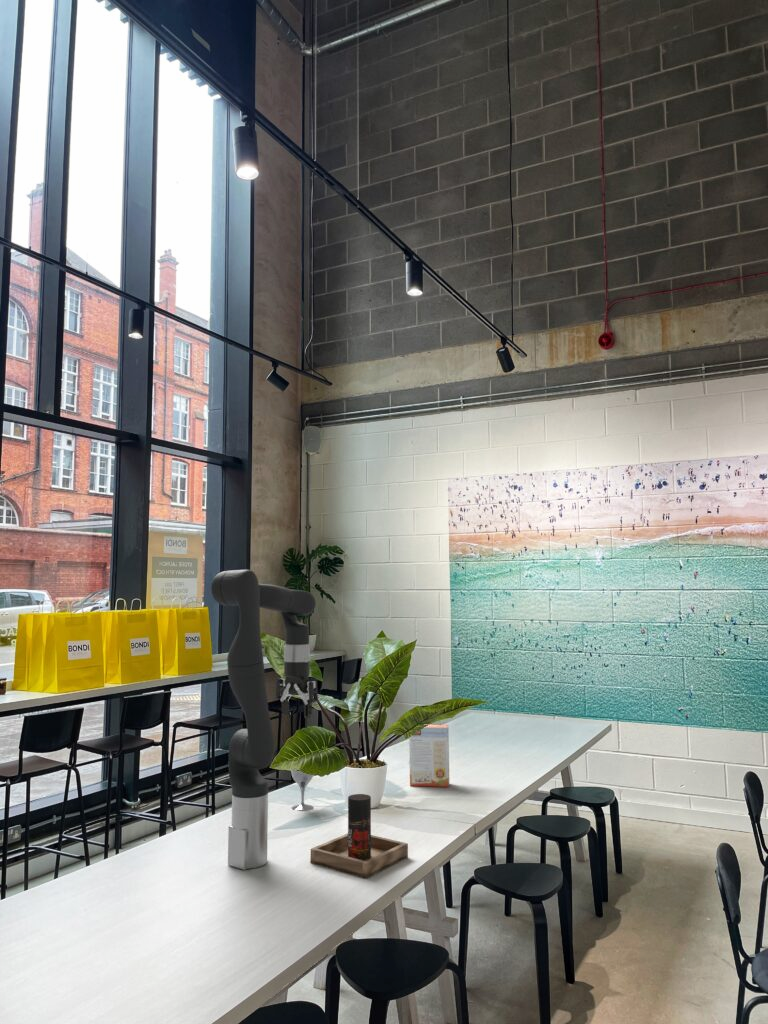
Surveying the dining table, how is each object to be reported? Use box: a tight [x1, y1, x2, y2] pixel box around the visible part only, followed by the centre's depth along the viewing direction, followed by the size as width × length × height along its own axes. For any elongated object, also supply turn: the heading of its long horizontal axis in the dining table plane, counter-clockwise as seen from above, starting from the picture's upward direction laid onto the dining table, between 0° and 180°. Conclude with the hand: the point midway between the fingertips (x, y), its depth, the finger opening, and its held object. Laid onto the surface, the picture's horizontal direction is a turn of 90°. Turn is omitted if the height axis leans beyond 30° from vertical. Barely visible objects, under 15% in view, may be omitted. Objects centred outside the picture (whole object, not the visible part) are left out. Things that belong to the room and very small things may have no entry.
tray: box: [310, 832, 409, 879], centre depth 196 cm, size 18×18×4 cm
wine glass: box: [290, 769, 315, 812], centre depth 244 cm, size 8×8×15 cm
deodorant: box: [347, 793, 372, 861], centre depth 196 cm, size 6×6×15 cm
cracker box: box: [408, 724, 450, 788], centre depth 272 cm, size 14×6×21 cm, turn 82°
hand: (296, 716), depth 220 cm, fingers open, 8 cm apart
